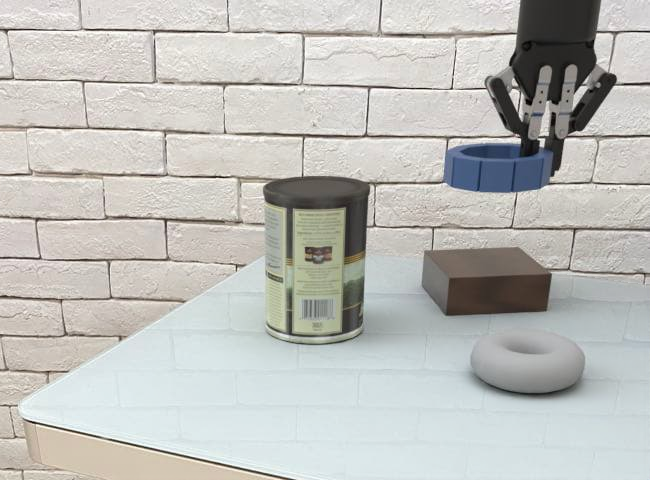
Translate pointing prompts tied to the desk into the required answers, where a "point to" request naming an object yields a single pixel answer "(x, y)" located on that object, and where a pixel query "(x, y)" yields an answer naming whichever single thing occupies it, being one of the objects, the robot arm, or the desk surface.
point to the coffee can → (315, 258)
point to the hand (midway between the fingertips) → (538, 175)
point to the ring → (496, 168)
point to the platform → (485, 280)
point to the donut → (527, 360)
